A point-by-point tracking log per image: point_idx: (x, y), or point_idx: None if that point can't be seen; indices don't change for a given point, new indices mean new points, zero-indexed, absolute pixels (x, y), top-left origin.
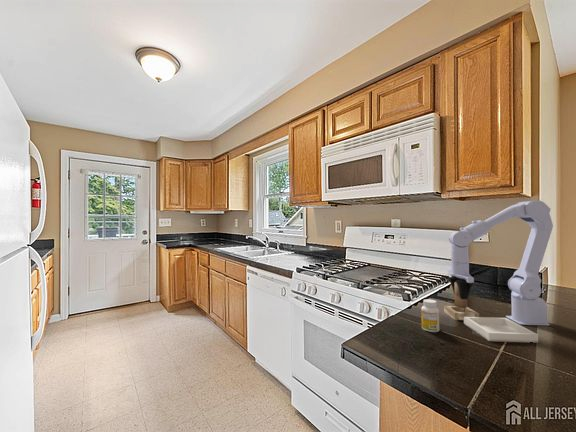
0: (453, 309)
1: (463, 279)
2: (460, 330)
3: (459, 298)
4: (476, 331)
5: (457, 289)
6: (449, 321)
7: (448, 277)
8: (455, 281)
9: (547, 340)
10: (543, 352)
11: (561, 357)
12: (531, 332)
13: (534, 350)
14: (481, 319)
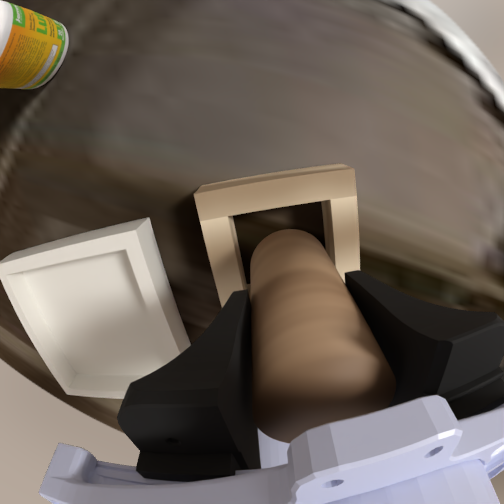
0: (327, 219)
1: (182, 477)
2: (58, 177)
3: (257, 282)
4: (59, 240)
5: (271, 320)
6: (163, 147)
7: (495, 330)
8: (404, 374)
9: (108, 404)
10: (24, 351)
11: (22, 367)
12: (72, 389)
13: (22, 340)
14: (150, 307)
